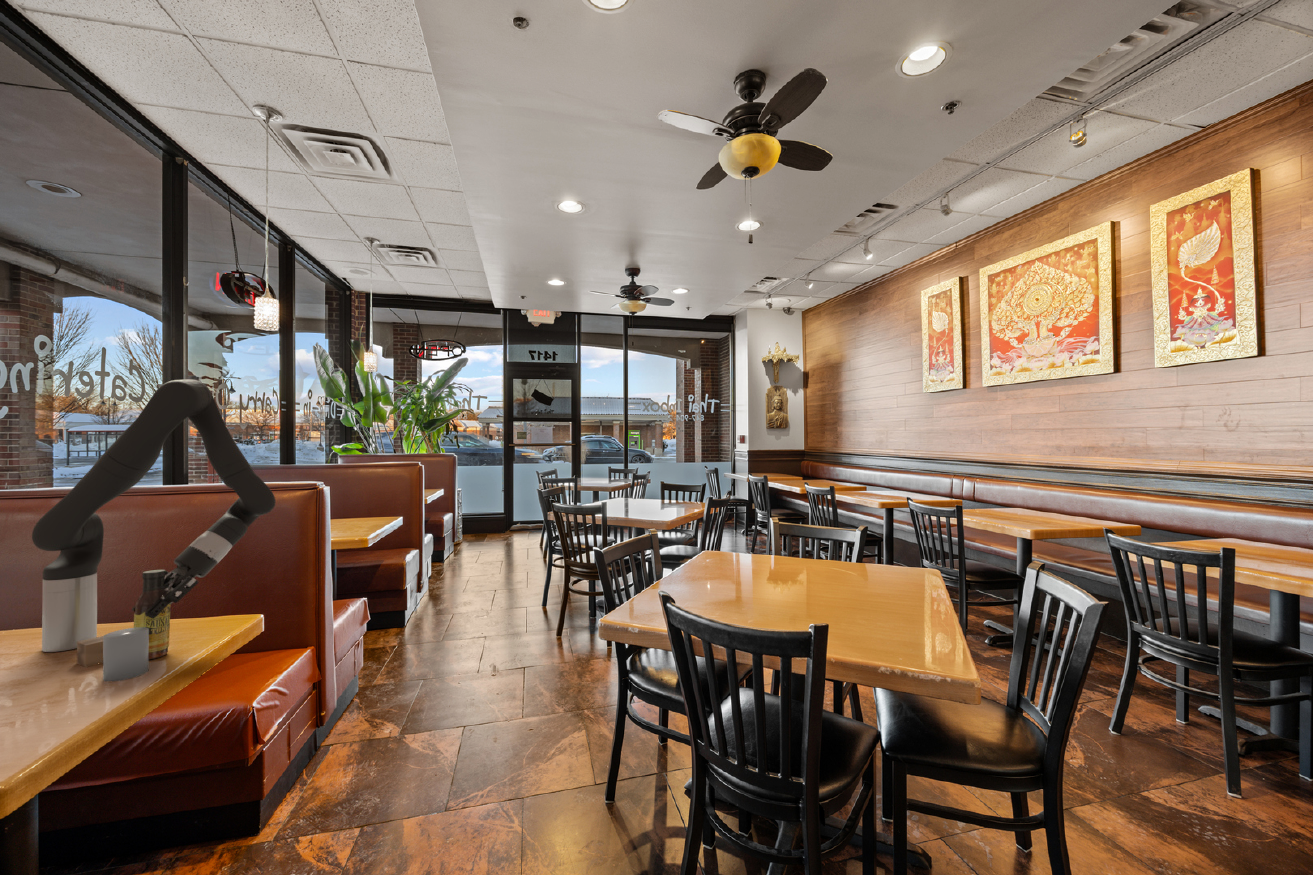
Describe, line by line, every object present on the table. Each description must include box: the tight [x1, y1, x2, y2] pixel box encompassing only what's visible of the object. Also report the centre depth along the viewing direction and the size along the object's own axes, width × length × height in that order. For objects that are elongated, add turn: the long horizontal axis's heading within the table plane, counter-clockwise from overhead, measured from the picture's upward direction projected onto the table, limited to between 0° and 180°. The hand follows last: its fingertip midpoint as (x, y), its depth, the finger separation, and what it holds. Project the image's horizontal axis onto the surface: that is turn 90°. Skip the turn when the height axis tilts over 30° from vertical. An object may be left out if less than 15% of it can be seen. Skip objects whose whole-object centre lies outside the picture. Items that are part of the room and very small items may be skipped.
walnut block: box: [76, 635, 104, 668], centre depth 124 cm, size 5×5×5 cm
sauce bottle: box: [133, 569, 172, 660], centre depth 126 cm, size 7×6×20 cm
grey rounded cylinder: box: [102, 627, 150, 682], centre depth 116 cm, size 7×7×9 cm
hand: (142, 614), depth 125 cm, fingers closed on sauce bottle, 6 cm apart
